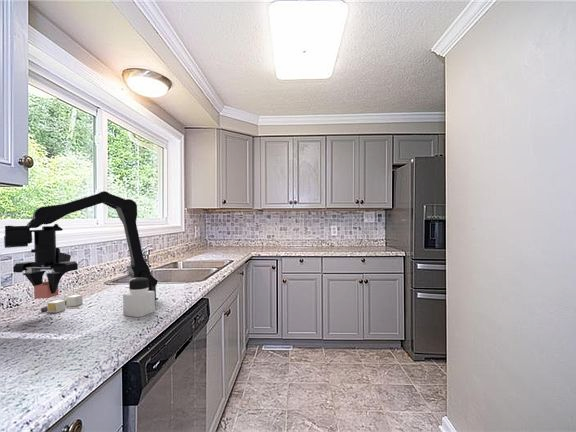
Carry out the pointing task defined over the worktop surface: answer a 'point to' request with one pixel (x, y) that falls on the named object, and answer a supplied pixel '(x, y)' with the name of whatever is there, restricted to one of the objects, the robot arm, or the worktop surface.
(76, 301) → the white square block
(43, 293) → the cap
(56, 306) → the matte white cube
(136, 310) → the medicine bottle
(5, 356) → the worktop surface
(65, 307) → the strip
